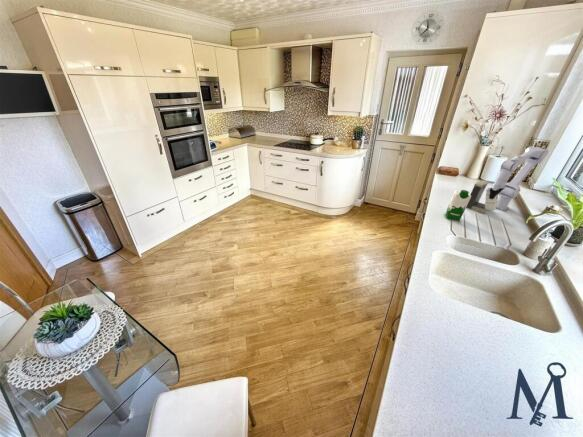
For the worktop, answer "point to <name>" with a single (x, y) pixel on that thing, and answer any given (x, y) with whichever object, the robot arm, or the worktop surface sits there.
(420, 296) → the worktop surface
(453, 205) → the milk carton
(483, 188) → the grey block
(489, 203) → the syrup box
